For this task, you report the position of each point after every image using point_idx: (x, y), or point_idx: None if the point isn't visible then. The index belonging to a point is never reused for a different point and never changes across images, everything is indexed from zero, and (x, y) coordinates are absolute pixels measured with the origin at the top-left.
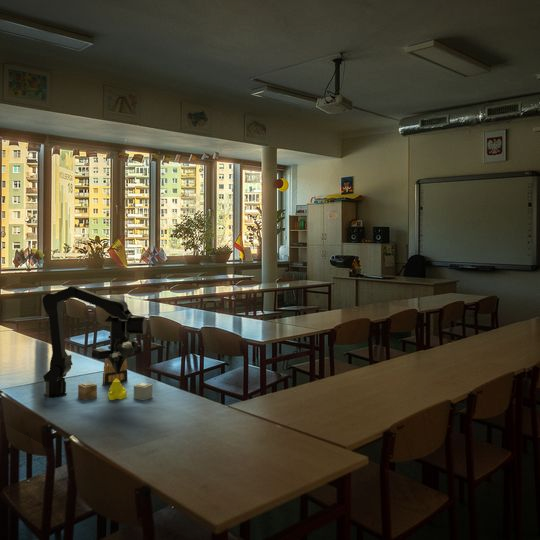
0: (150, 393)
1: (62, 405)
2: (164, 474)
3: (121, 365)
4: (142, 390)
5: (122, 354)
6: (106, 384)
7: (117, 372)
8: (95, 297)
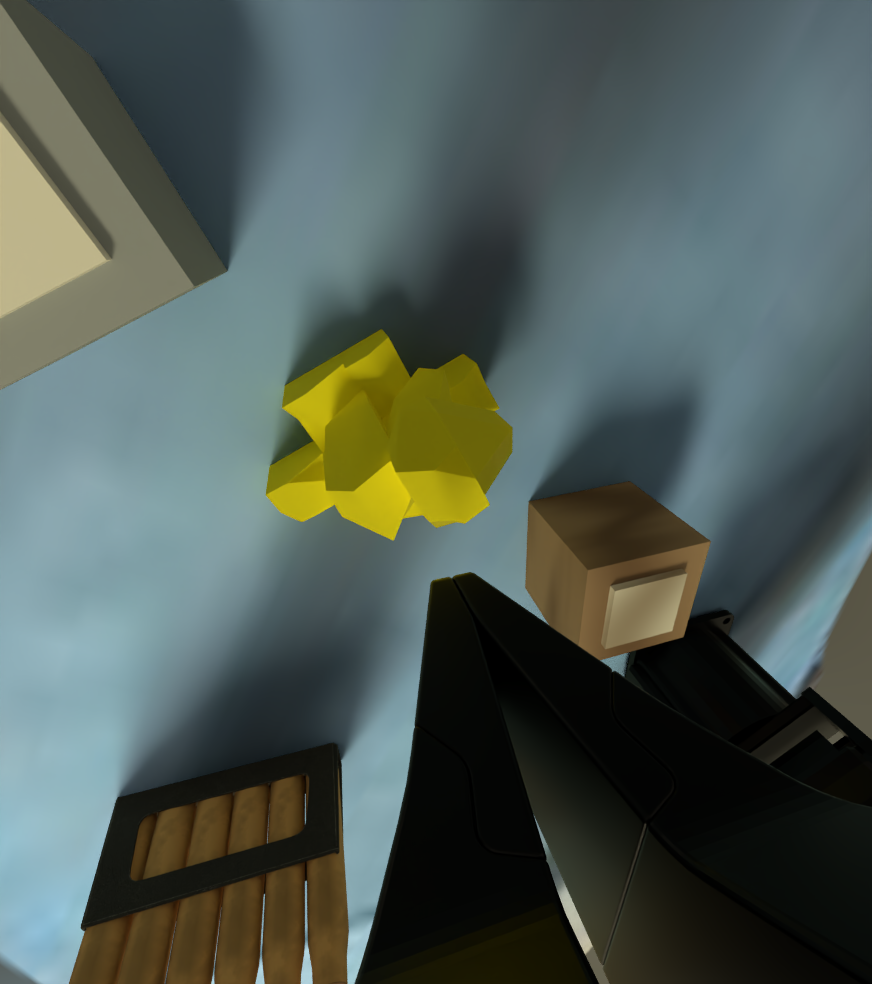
0: None
1: (794, 436)
2: None
3: (435, 714)
4: (56, 61)
5: None
6: (321, 752)
7: (477, 582)
8: None
